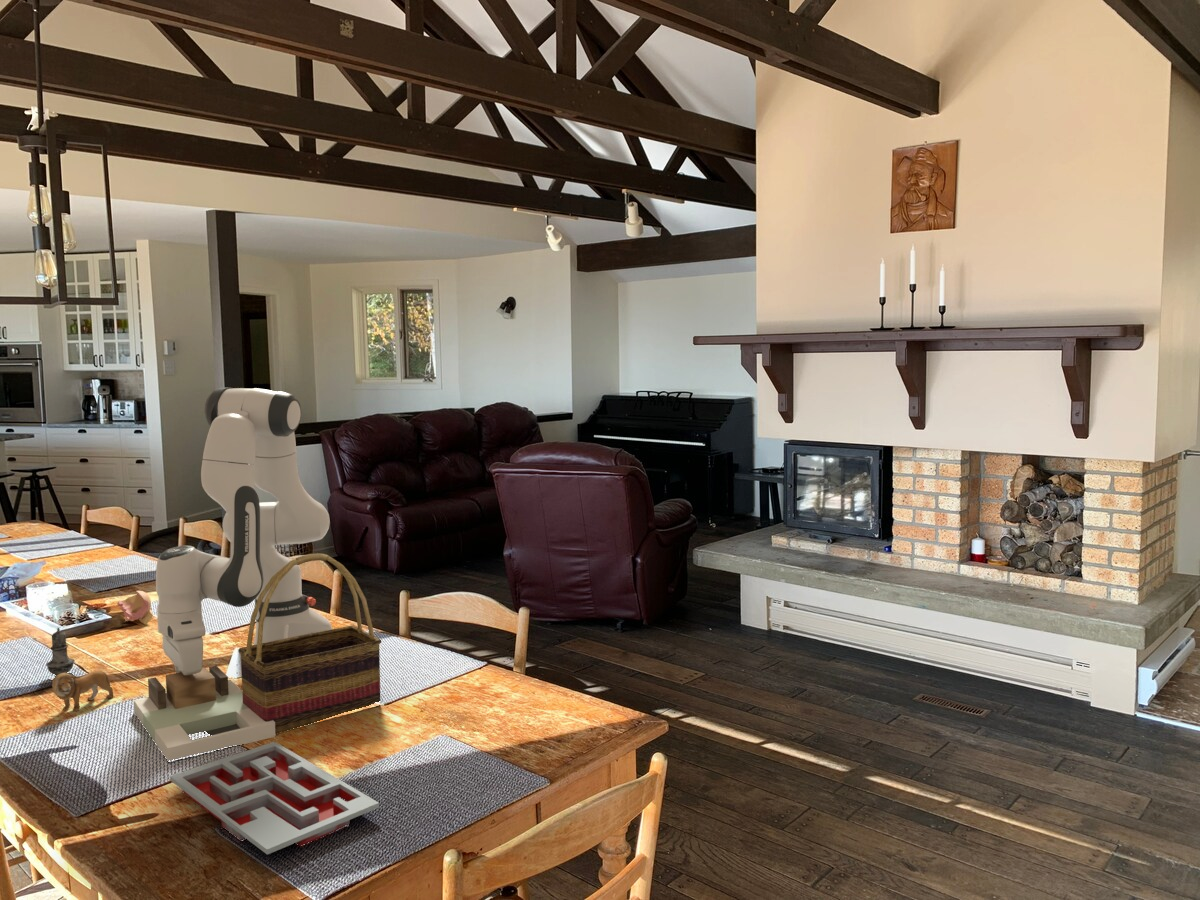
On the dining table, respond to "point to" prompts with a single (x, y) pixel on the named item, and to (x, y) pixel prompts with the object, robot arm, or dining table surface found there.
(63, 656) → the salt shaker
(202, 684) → the tan square block
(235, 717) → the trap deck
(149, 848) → the dining table surface
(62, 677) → the lion figurine
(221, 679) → the dark brown bars
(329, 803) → the maze game
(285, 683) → the basket
